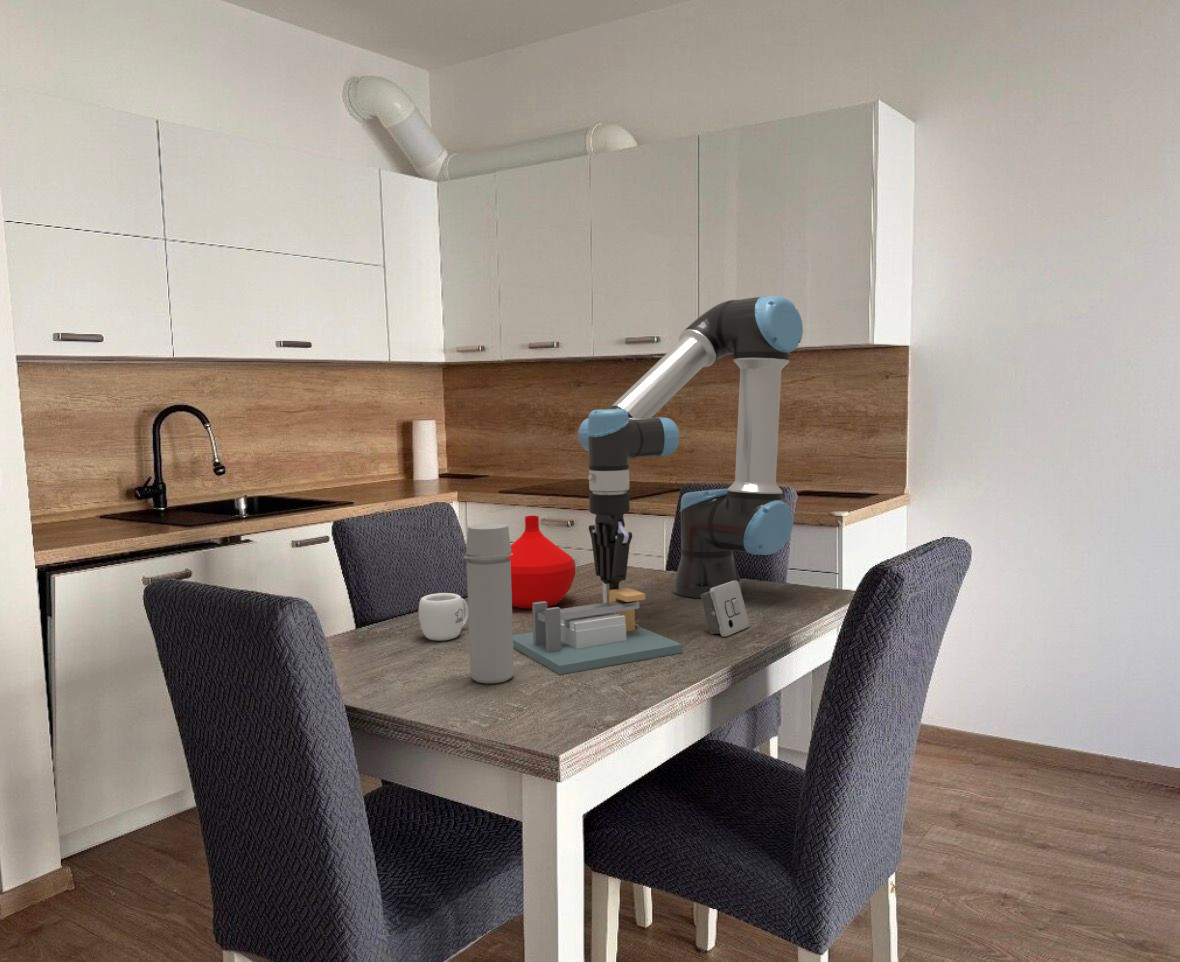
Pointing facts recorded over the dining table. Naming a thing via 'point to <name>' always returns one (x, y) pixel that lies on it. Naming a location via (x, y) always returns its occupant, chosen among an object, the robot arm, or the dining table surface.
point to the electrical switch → (725, 609)
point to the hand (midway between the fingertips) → (611, 615)
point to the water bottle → (490, 603)
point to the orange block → (626, 596)
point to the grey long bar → (593, 609)
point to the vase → (538, 568)
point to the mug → (442, 615)
